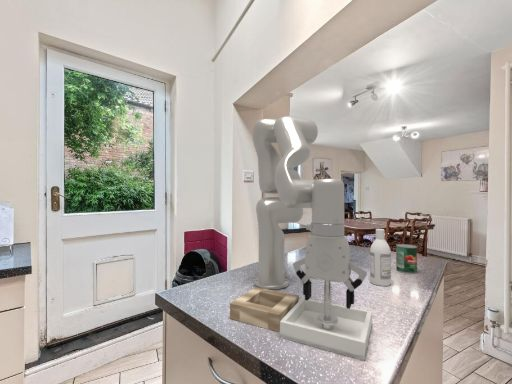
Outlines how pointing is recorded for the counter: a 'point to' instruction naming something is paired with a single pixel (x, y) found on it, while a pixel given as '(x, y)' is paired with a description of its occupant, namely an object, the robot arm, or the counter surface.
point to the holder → (263, 307)
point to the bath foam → (380, 260)
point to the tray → (335, 340)
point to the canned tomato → (406, 258)
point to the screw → (327, 309)
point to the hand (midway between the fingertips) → (327, 302)
